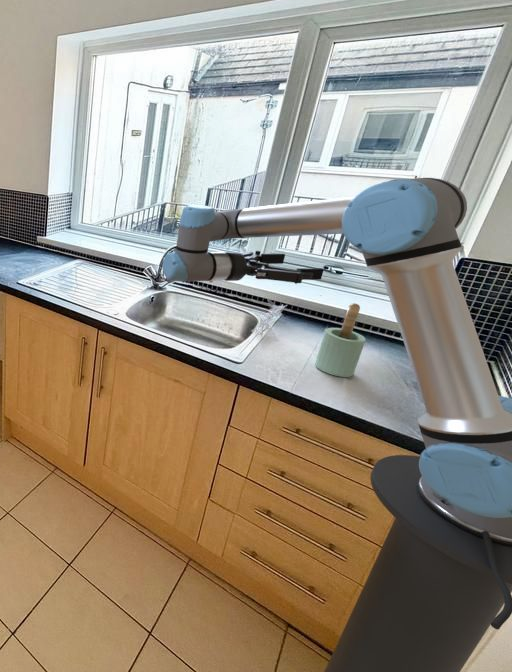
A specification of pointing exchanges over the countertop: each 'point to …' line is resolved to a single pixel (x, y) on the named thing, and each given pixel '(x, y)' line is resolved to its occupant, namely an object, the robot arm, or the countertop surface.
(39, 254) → the countertop surface
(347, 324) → the brush
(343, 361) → the mint green pipe segment
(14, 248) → the countertop surface
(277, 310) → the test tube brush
